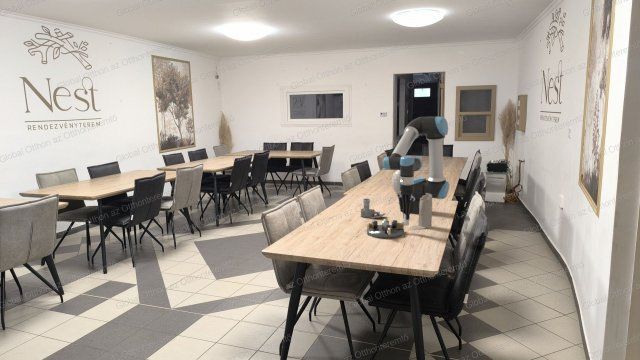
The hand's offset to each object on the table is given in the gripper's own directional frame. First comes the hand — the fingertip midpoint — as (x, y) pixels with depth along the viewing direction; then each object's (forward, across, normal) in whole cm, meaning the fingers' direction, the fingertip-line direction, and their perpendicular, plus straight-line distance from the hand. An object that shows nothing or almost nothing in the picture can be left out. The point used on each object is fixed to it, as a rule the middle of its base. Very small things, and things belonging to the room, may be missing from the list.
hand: (406, 224), depth 238 cm
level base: (+5, -6, -10) cm, 13 cm away
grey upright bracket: (+5, -3, +14) cm, 15 cm away
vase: (+5, -85, +72) cm, 111 cm away
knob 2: (+2, +2, -15) cm, 15 cm away
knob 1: (+2, -11, -16) cm, 19 cm away
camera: (+5, -38, +5) cm, 39 cm away
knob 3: (+2, -3, -3) cm, 5 cm away
